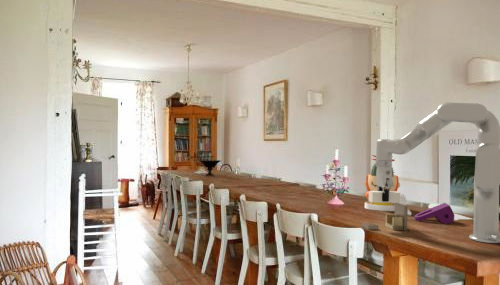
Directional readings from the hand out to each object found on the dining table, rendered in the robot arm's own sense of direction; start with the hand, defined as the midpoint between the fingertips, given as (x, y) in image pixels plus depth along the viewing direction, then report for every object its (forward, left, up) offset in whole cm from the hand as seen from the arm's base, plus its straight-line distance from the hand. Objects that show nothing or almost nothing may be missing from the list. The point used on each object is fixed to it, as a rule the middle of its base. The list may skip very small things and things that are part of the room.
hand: (382, 200), depth 194 cm
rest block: (0, +6, -14) cm, 15 cm away
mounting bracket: (+18, -36, -14) cm, 43 cm away
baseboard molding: (+36, -55, -15) cm, 67 cm away
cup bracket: (0, -6, -14) cm, 15 cm away
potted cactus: (+61, -25, -14) cm, 67 cm away
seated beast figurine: (+40, -30, -14) cm, 52 cm away
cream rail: (0, -1, -1) cm, 1 cm away
